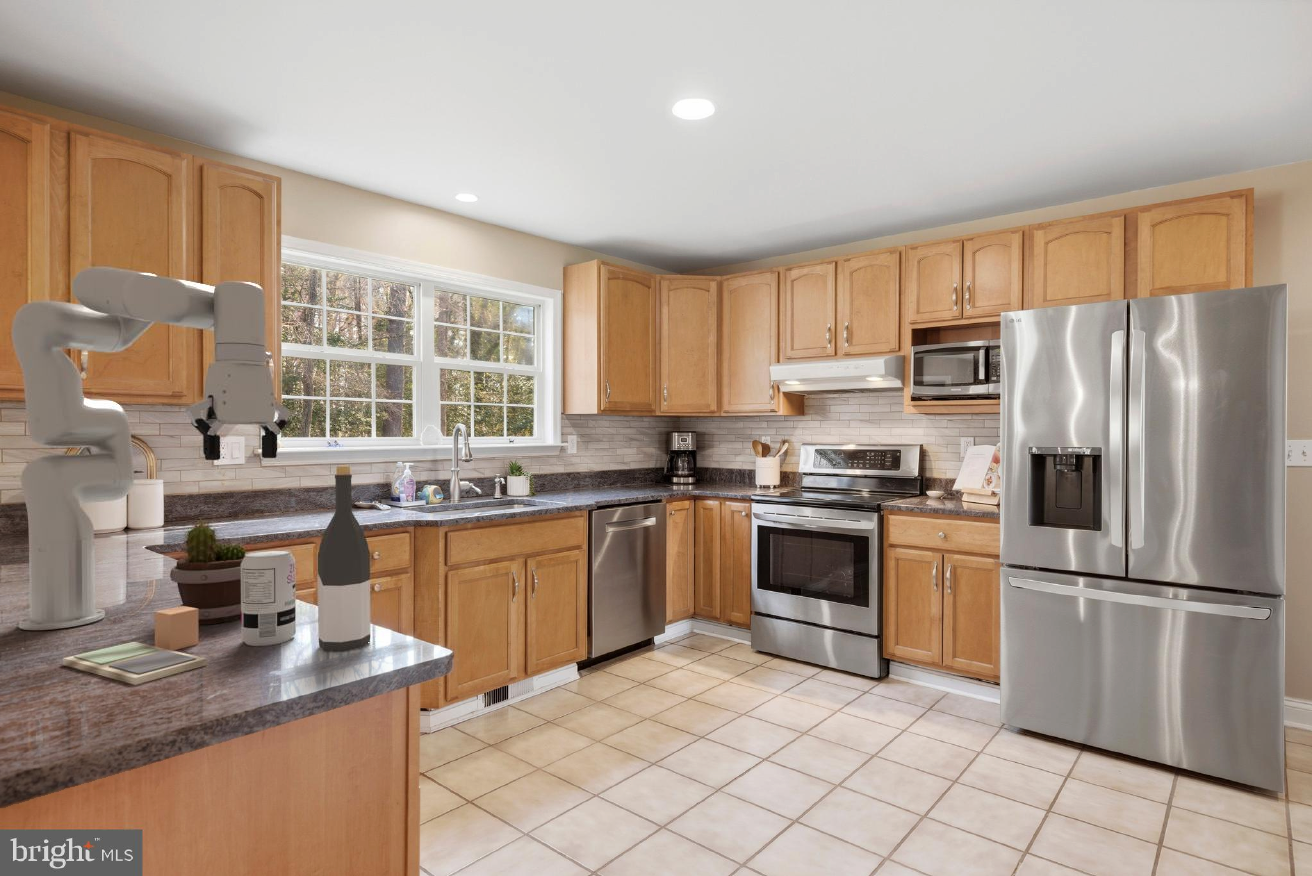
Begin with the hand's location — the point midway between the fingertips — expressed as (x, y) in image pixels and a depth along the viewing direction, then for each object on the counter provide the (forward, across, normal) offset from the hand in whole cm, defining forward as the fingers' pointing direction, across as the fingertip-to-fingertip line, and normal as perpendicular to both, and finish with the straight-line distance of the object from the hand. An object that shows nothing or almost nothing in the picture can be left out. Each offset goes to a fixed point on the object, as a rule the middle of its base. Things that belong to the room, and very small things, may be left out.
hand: (241, 458), depth 123 cm
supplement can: (+32, -4, +1) cm, 32 cm away
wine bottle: (+32, -8, +15) cm, 36 cm away
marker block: (+31, +6, -10) cm, 33 cm away
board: (+31, +15, -4) cm, 35 cm away
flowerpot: (+31, -8, -22) cm, 39 cm away
